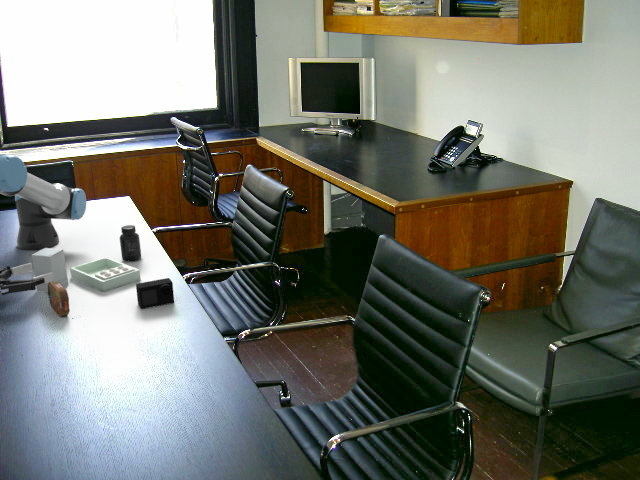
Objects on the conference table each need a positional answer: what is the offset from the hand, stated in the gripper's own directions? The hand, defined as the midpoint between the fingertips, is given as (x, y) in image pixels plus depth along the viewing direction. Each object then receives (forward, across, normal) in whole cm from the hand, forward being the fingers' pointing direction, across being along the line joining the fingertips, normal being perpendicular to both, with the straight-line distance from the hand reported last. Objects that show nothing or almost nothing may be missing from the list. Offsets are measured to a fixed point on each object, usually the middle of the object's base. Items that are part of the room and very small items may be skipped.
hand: (41, 271), depth 252 cm
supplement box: (+3, 0, -7) cm, 8 cm away
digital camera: (+17, +37, -7) cm, 41 cm away
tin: (-5, +18, -7) cm, 20 cm away
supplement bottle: (+36, -5, -7) cm, 37 cm away
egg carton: (+19, +11, -7) cm, 23 cm away
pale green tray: (+19, +5, -7) cm, 21 cm away
